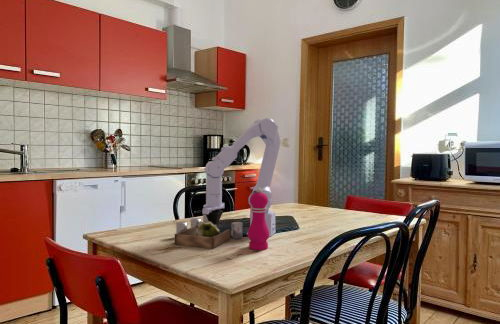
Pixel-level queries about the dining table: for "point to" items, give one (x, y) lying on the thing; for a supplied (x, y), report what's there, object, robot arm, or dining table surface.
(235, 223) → the tin left
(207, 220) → the grey metal cylinder
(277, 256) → the dining table surface
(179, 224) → the tin right far
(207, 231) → the pale green lumpy ball
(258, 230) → the pepper mill
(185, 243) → the tray
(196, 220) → the tin right near
